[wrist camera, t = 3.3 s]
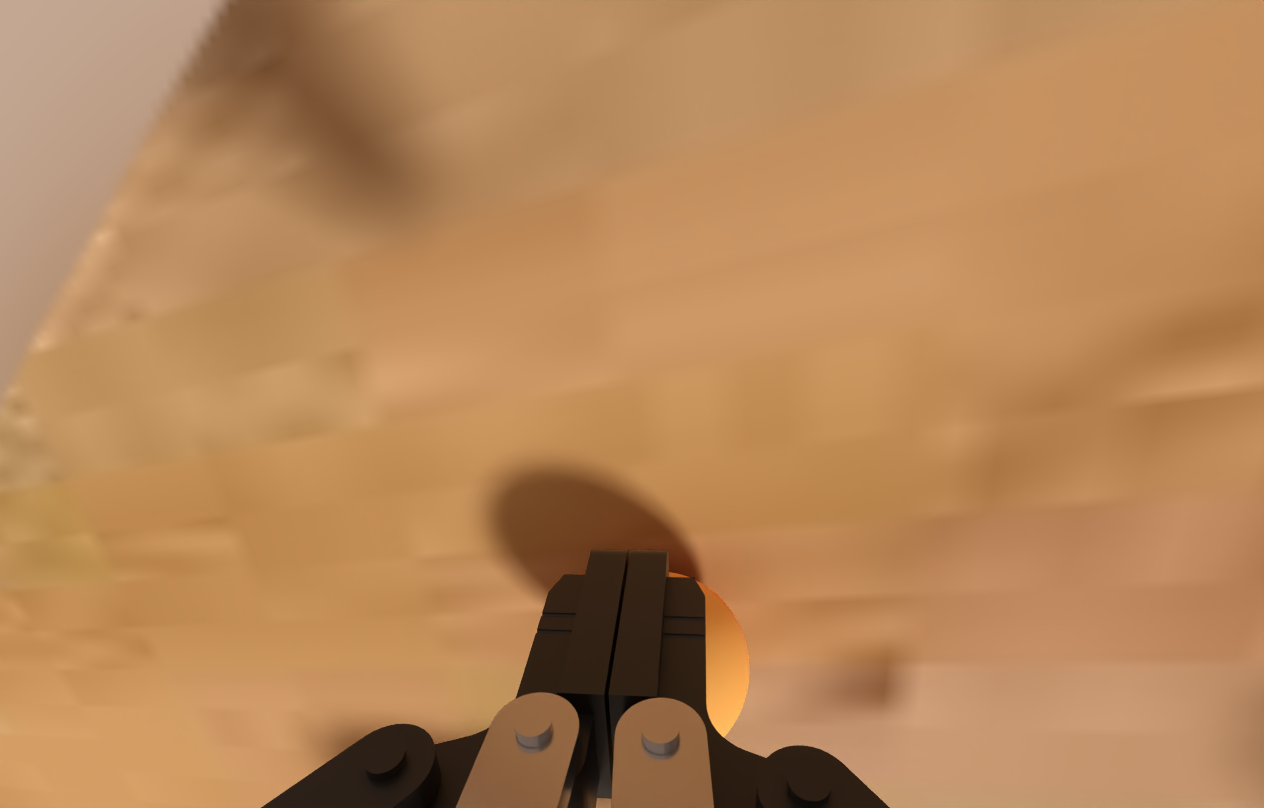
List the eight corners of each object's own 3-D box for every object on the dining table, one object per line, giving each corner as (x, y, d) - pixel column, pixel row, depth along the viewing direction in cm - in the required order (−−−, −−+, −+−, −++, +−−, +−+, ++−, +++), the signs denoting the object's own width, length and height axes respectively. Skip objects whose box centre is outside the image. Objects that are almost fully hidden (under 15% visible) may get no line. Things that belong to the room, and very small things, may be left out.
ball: (579, 533, 24) (542, 662, 19) (748, 538, 23) (760, 674, 18) (589, 656, 27) (559, 801, 21) (741, 664, 26) (751, 816, 21)
